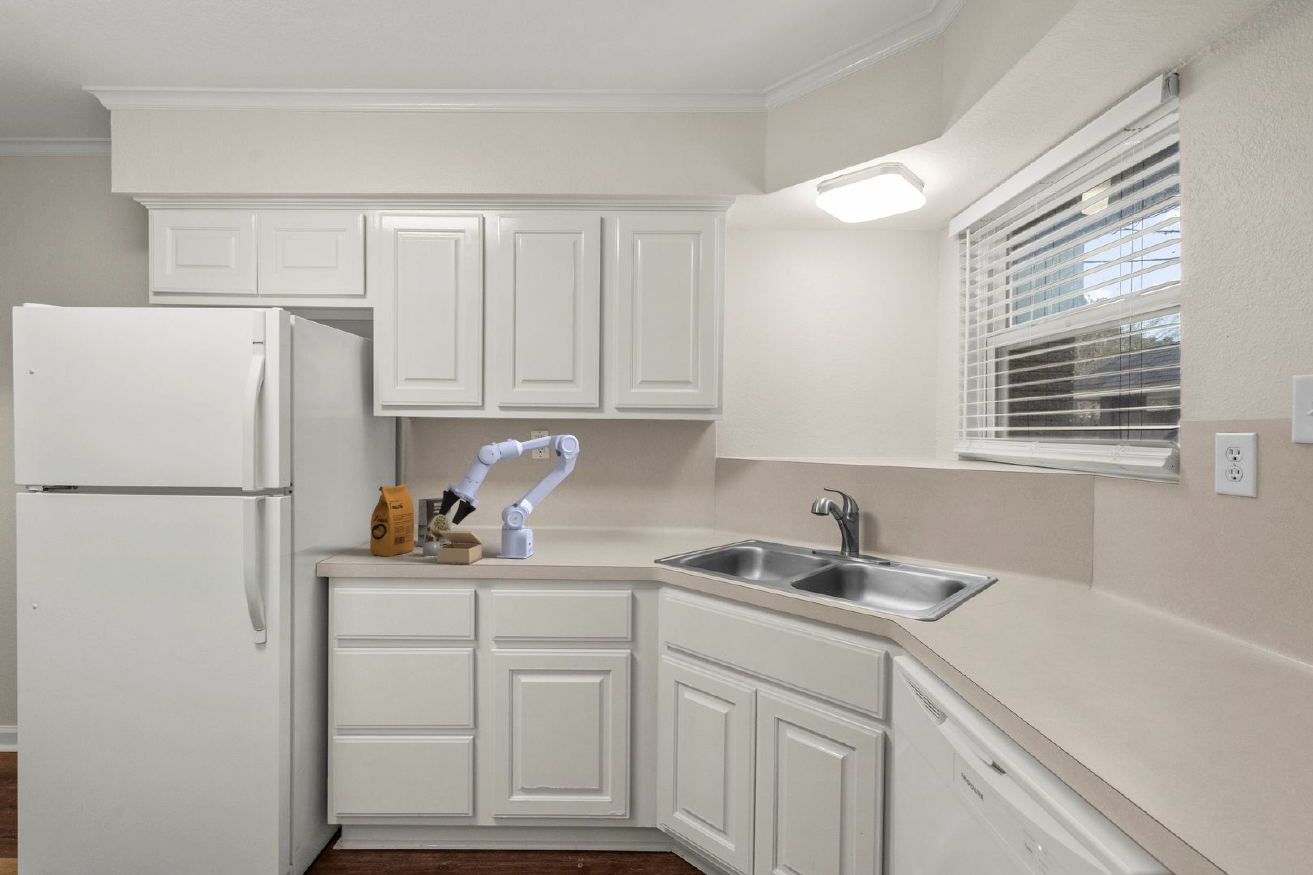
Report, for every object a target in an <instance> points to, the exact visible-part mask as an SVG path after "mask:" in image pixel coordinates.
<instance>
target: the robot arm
mask: <svg viewBox="0 0 1313 875" xmlns="http://www.w3.org/2000/svg"><path fill="white" fill-rule="evenodd" d="M579 445H580V444H579V440H578V439H577V438H576V437H575V435H572V434H560V435H547V436H542V437H537V438H534V439H530V440H526V441H523V442H520V441H518V440H517V439H512V438H509V439H506V441H503V442H497V443H496V442H491V444H490V445H489V444H488V445H483V446H481V447H480V448H479V449H477V451H476V456H475V457H474V458H473V461H472V462H471V463H470V464H469V465H468V468H467V469H466V470H465V472H464V474H463V476H462V477H461V479H460V481H459V483H458V484H457V486H455V485H453V484H450V483H449V484H448V486H447V487H446V490H444V489H443V491H442V498H443V501H442V505H441V508H440V511H439V514H442V515H444V516H445V515H446V514H447V513H448V511H449V510H450V509H451V510H452V507H453V506H454V505H455V504H456V503H457V502H458V501H459V502H458V503H459V504H458V508H457V509H456V510H457V511H456V512H455V514H454V516H453V518H452V521H451V523H452V524H455V525H457V526H458V525H459V524H460V523H461V522H462V521H463V520H464V519H465V518H466V517H468V516H469V515H470V514H471V513H473V512H475V511H476V510H477V507H478V505H479V503H480V501H479V500H478V499H476V498H475V497H474V496H475V494H476V493H477V491H478V489H479V487H480V486H481V484H482V482H483V481H484V480H485V477H486V475H487V474H488V472H489V470H490V468H491V467H492V465H494V464H495V463H496V462H497V461H498V462H504V461H509V460H513V459H516V458H520V456H521V454H522V453H524V452H529V451H535V450H539V449H545V448H547V449H551V450H554V451H555V452H556V455H557V456H556V459H557V460H556V461H557V463H556V465H555V466H554V467H552V469H550V471H548V473H547V474H545V475H544V476H543V477H542V478H541V479H540V480H539V481H538V482H537V483H536V484H535V485H534V486H533V487H532V488H530V490H529V491H528V492H526V494H524V496H522V497H520V498H519V499H518V500H516V501H515V502H514V503H512V504H510V505H507V506H506V507H504V509H503V510H502V512H501V519H502V521H503V524H502V526H501V550H500V551H501V553H500V554H498V555H496V558H497V559H498V558H499V559H501V558H502V559H503V558H504V559H507V558H508V559H527V558H529V557H530V556H532V555H534V533H533V530H532V529H531V528H526V526H525V522H526V519H527V517H529V515H530V514H531V513H532V511H533V509H534V508H535V507H536V506H537V505H538V504H540V503H541V501H543V499H545V498H546V497H547V495H549V494H550V493H551V492H552V491H553V490H554V489H555V488H557V486H559V484H560V483H562V481H564V479H565V478H567V477H568V476H569V475H570V474H571V472H573V470H574V468H575V465H576V464H575V463H576V461H577V457H578V455H579V452H580V446H579Z"/></svg>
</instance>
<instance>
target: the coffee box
mask: <svg viewBox="0 0 1313 875" xmlns="http://www.w3.org/2000/svg"><path fill="white" fill-rule="evenodd" d="M442 501H443V497H436V498H433V497H432V498H422V499H418V512H417V513H418V515H417V516H418V517H417V523H418V524H417V546H419V547H423V543H425V542H440V545H441V546H444V545H443V544H447V545H448V544H451V542H450V541H448V540H447V539H446V538H445V537H444V536H443V535H441V534H440V533H439V530H441V531H452V530H451V527H452V526H451V523H452V521H451V517H452V513H451V512H452V511H451V510H452V508H451V509H450V510H449V511H448V513H447V514H446V515H445V516H444V515H442V514H439V511H440V508H441V505H442Z"/></svg>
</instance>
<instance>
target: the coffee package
mask: <svg viewBox="0 0 1313 875" xmlns="http://www.w3.org/2000/svg"><path fill="white" fill-rule="evenodd" d="M378 490H379V492H380V493H381V495H380V496H379V500H378V503H377V504H376V505H375V507H374V510H373V512H372V514H371V520H370V545H369V546H370V548H369V551H370V553H371V555H372V556H378V557H384V558H387V557H388V558H389V557H390V556H391V557H394V556H396V555H404V554H407V553H410V552H412V551H414V546H415V543H414V542H415V541H414V540H415V510H414V503H413V500H412V497H411V495H410V493H409V489H408V488H407V485H406V484H405V483H403V484H400V485H398V486H387V485H386V486H385V485H384V486H383V485H380V486H379V488H378Z"/></svg>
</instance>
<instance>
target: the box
mask: <svg viewBox="0 0 1313 875" xmlns="http://www.w3.org/2000/svg"><path fill="white" fill-rule="evenodd" d="M482 559H483V543H482V544H466V543H451V542H450V544H447V545H442V546H440V548H437V556H436V560H437V561H436V564H439V565H440V564H441V565H465V566H466V565H467V566H469V565H472V564H474V563H476V562H478V561H480V560H482Z"/></svg>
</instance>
